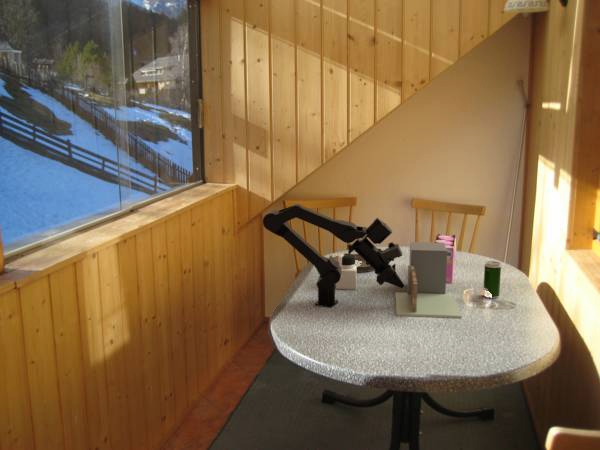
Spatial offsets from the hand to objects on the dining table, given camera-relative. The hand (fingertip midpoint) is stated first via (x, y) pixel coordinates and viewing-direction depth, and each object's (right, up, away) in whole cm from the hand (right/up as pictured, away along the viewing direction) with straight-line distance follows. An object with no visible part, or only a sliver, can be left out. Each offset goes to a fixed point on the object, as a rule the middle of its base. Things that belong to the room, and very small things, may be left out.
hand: (403, 287), depth 208 cm
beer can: (+32, -5, +11) cm, 34 cm away
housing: (+9, -5, +8) cm, 13 cm away
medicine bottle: (-17, -2, +24) cm, 29 cm away
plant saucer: (-11, +3, +50) cm, 51 cm away
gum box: (+22, +1, +39) cm, 44 cm away
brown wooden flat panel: (+4, -5, +2) cm, 7 cm away
